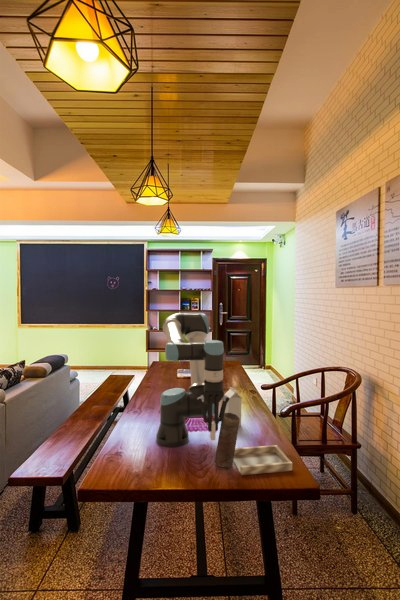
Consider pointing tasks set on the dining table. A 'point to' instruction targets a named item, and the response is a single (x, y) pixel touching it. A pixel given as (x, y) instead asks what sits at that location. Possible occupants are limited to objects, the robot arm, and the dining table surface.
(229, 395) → the milk carton
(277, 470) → the tray
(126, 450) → the dining table surface
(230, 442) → the candle
